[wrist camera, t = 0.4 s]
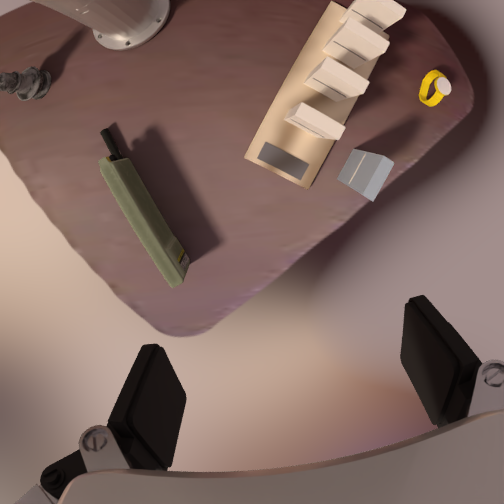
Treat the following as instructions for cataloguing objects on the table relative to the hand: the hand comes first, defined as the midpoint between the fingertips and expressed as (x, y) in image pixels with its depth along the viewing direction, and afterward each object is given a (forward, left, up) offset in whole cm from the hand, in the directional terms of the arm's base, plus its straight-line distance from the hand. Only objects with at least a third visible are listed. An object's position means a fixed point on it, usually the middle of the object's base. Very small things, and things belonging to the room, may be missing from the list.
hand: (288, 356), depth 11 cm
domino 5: (+10, +9, -34) cm, 37 cm away
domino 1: (+1, +29, -34) cm, 44 cm away
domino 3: (+1, +17, -34) cm, 37 cm away
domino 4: (+1, +11, -34) cm, 35 cm away
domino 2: (+1, +23, -34) cm, 41 cm away
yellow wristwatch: (+15, +27, -35) cm, 46 cm away
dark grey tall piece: (-42, +2, -35) cm, 55 cm away
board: (+1, +17, -34) cm, 38 cm away
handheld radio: (-15, -9, -35) cm, 39 cm away
